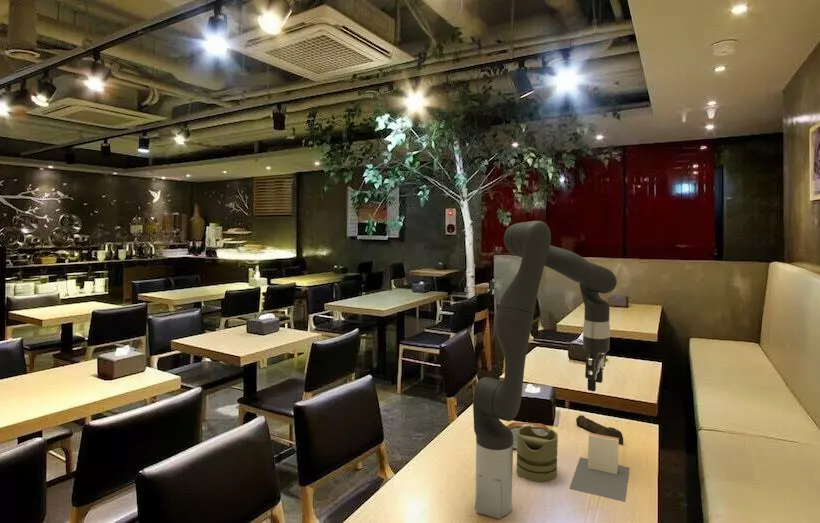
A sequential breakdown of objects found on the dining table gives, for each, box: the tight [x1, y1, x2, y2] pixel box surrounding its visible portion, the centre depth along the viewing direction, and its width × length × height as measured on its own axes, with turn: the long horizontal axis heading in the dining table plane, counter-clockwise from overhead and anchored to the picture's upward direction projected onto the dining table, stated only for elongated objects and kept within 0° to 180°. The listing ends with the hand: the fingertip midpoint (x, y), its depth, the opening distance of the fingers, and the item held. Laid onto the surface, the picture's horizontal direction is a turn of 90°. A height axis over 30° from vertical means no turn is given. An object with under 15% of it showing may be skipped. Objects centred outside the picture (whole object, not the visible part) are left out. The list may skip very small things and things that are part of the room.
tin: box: [506, 421, 550, 451], centre depth 158 cm, size 15×3×8 cm, turn 84°
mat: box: [569, 456, 631, 503], centre depth 140 cm, size 20×14×1 cm
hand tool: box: [575, 414, 624, 446], centre depth 168 cm, size 19×4×5 cm, turn 24°
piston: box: [516, 425, 559, 483], centre depth 143 cm, size 11×12×11 cm
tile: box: [587, 432, 620, 474], centre depth 144 cm, size 2×8×10 cm, turn 63°
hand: (595, 386), depth 151 cm, fingers open, 8 cm apart
